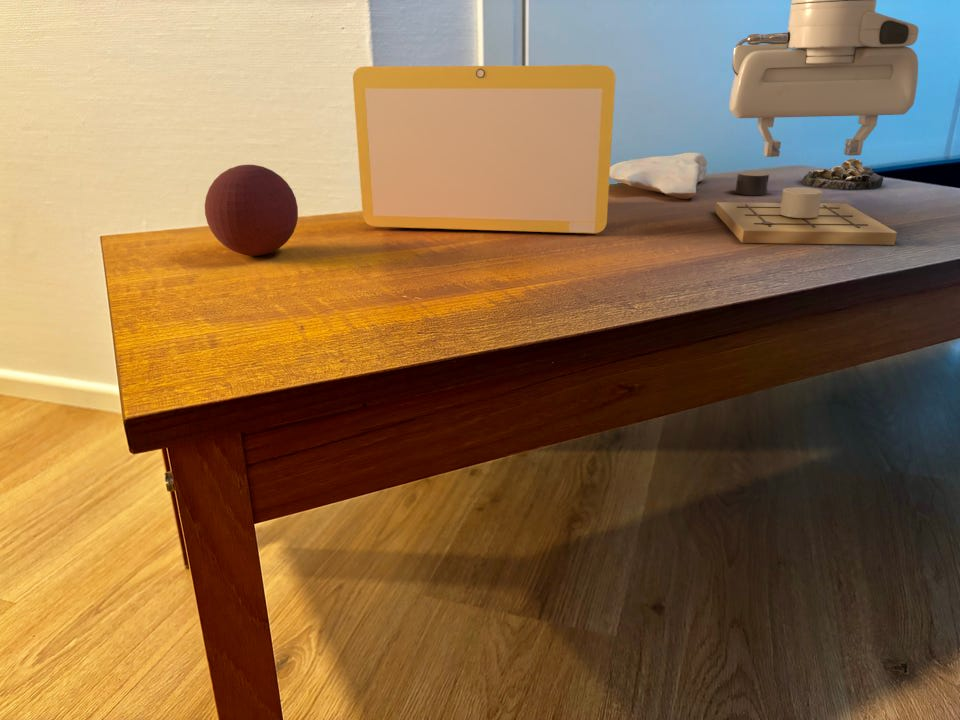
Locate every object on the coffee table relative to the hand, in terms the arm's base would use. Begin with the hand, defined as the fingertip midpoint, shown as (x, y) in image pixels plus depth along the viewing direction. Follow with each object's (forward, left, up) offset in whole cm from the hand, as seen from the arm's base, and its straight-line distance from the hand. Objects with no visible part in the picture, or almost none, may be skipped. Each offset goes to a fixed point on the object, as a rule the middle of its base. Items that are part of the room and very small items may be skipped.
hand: (811, 155), depth 89 cm
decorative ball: (+64, +17, -9) cm, 67 cm away
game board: (0, 0, -9) cm, 9 cm away
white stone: (0, 0, -7) cm, 7 cm away
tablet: (+36, +1, -9) cm, 38 cm away
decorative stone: (+15, -28, -9) cm, 33 cm away
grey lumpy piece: (-16, -33, -9) cm, 38 cm away
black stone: (+1, -24, -9) cm, 26 cm away
